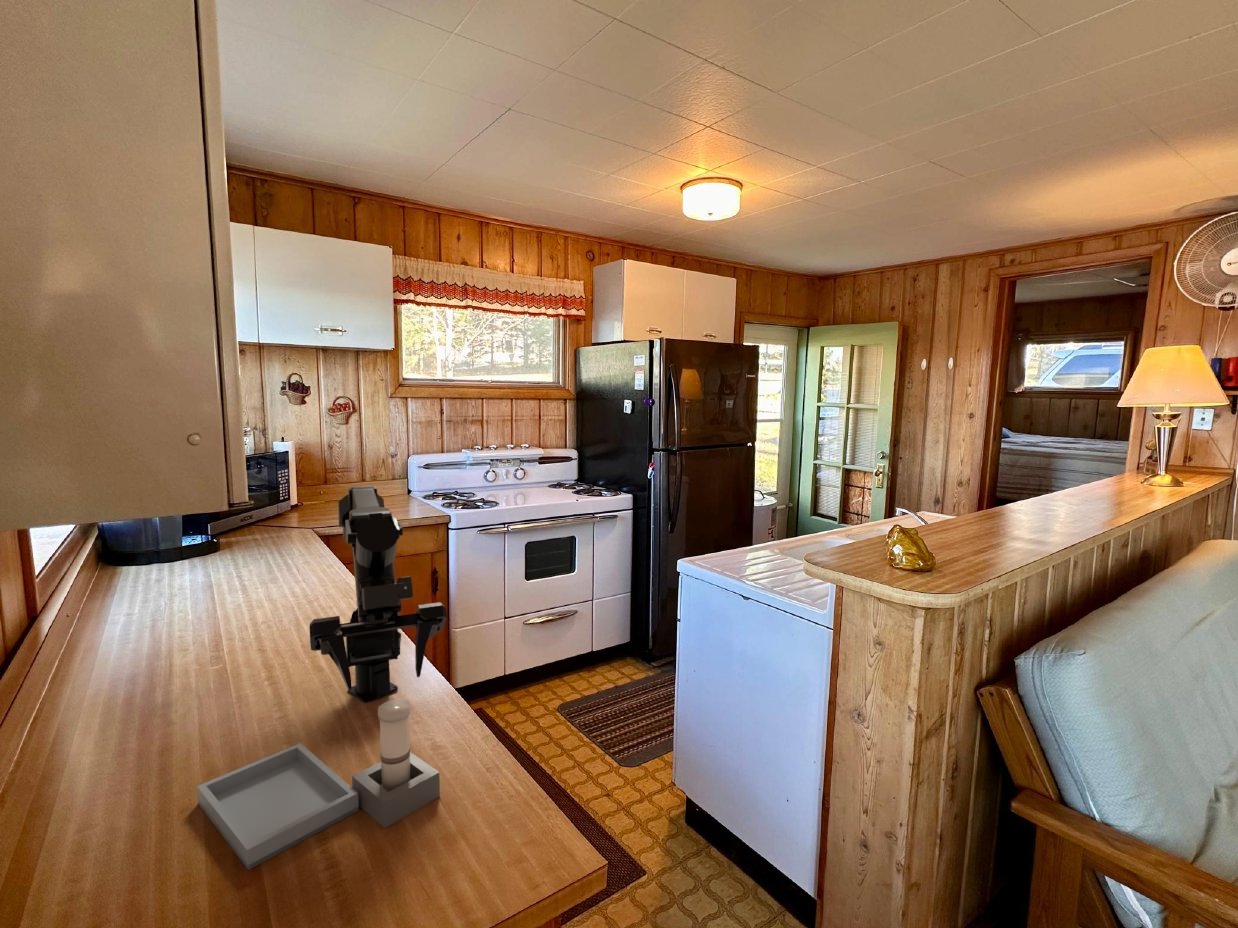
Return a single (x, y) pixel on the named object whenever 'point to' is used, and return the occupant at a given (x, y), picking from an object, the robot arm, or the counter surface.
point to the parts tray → (276, 803)
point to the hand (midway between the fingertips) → (385, 682)
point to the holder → (396, 792)
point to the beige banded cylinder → (394, 743)
